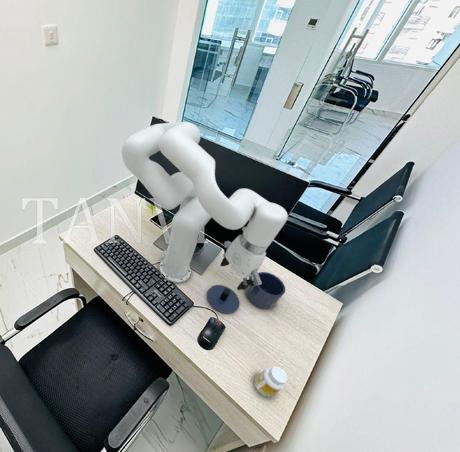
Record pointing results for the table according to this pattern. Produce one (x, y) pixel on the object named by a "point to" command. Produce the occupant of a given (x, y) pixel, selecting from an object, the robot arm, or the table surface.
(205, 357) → the table surface
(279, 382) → the supplement bottle
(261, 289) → the pot
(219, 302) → the lid
